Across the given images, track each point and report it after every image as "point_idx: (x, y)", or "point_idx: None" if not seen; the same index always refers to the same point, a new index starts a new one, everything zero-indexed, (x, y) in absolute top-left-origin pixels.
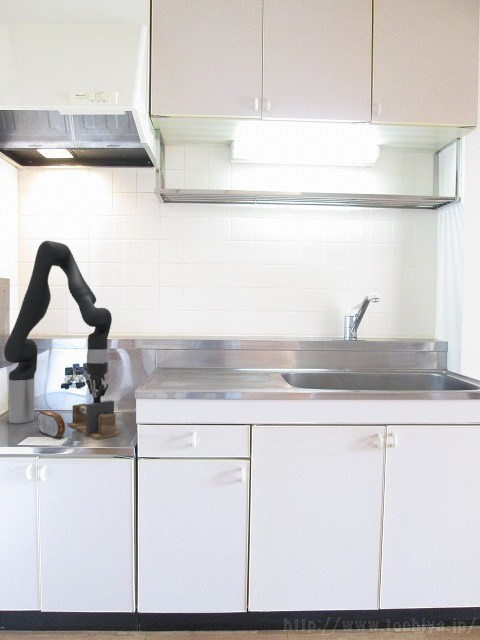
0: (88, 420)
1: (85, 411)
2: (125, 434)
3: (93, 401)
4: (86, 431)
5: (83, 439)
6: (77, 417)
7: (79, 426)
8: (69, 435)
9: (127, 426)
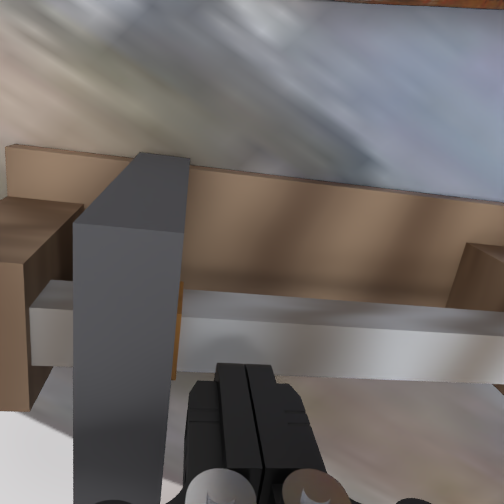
0: (129, 171)
1: (423, 319)
2: None
3: (276, 409)
4: (183, 158)
5: (113, 79)
6: (494, 274)
7: (387, 223)
8: (302, 66)
9: (173, 457)
